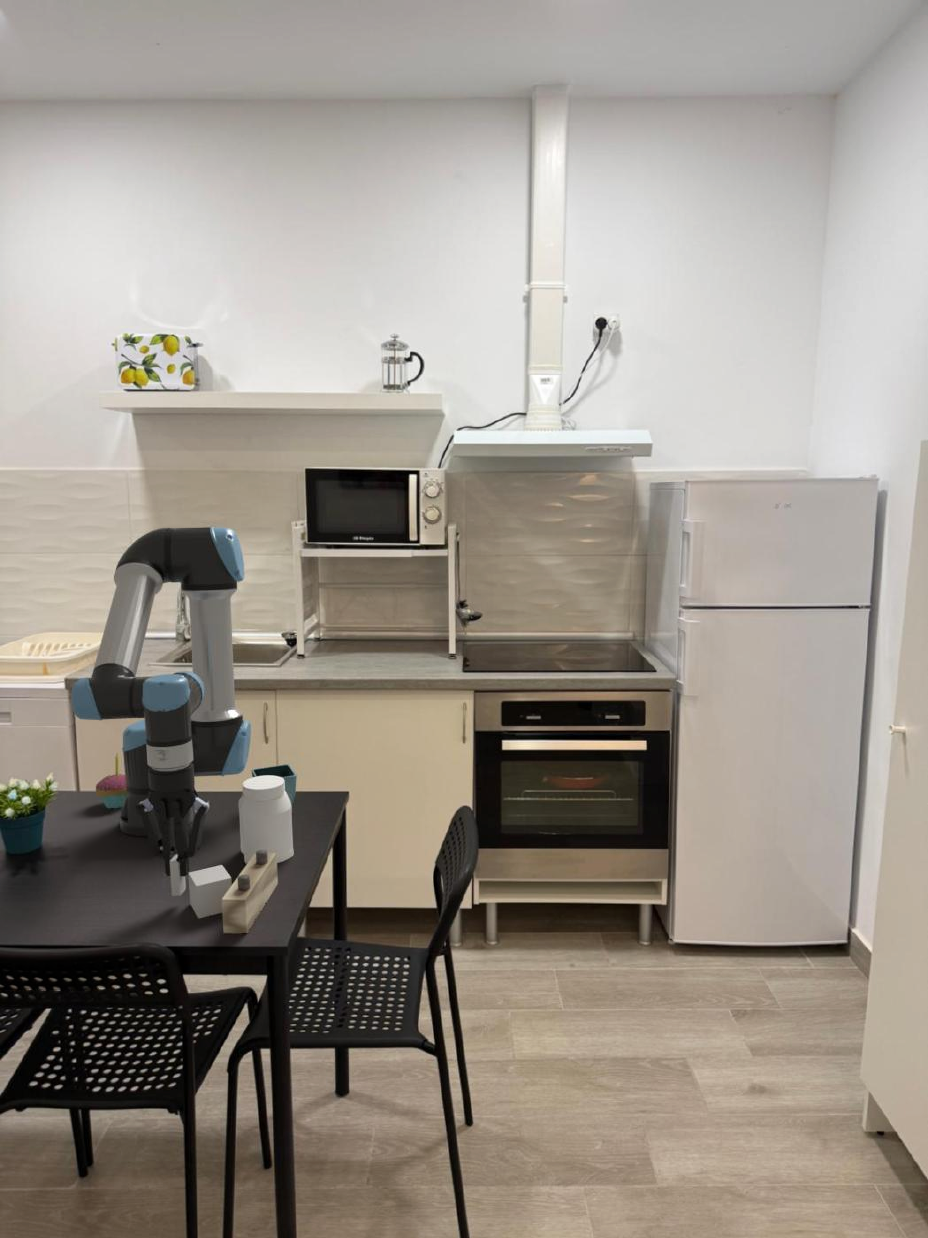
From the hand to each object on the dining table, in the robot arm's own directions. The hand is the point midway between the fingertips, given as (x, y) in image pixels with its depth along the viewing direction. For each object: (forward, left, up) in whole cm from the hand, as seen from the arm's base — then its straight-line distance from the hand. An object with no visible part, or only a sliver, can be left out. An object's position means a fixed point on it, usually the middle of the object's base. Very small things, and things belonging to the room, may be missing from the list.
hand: (178, 892), depth 152 cm
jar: (+9, +22, -3) cm, 24 cm away
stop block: (+13, 0, -2) cm, 13 cm away
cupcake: (-34, +46, -3) cm, 57 cm away
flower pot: (+4, +45, -3) cm, 45 cm away
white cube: (+6, 0, -3) cm, 6 cm away
